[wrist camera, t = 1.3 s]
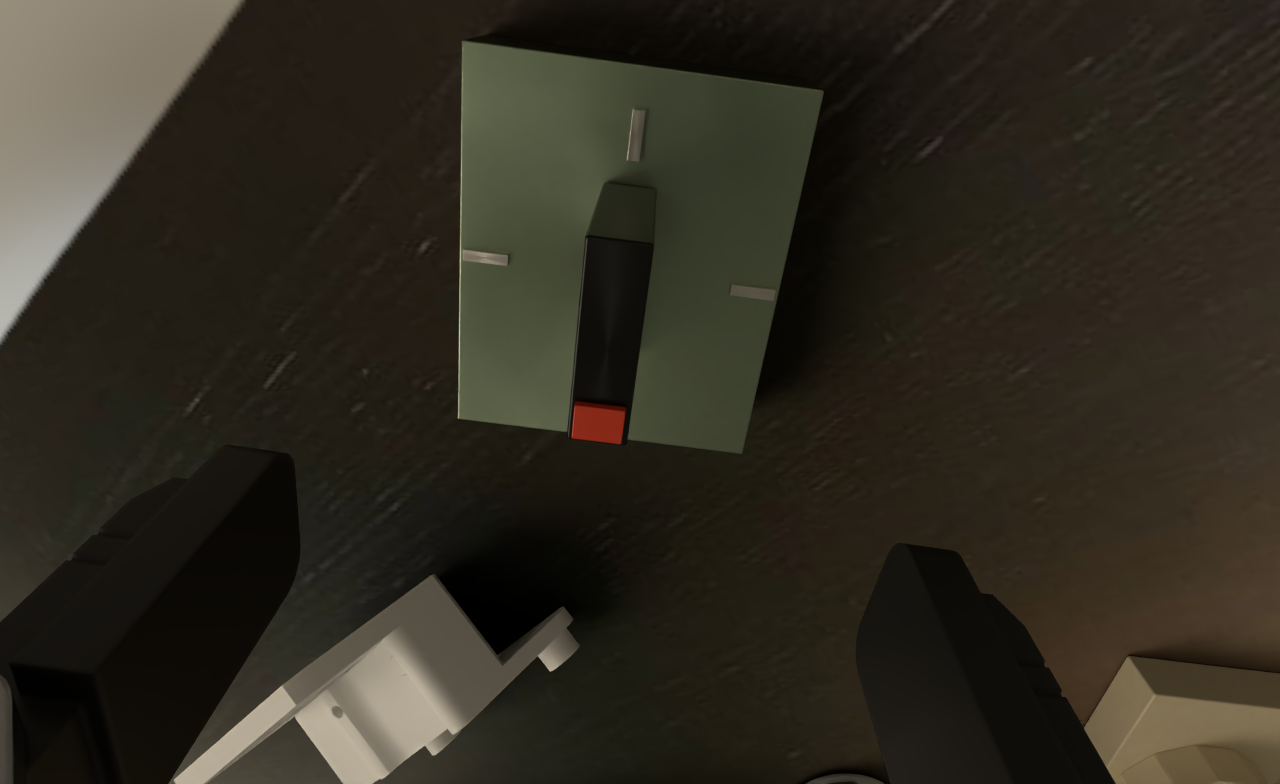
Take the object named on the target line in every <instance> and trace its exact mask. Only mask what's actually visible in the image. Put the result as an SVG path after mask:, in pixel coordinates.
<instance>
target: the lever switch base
mask: <svg viewBox="0 0 1280 784" xmlns="http://www.w3.org/2000/svg"><path fill="white" fill-rule="evenodd" d="M823 95H824V90H822V89H821V88H819V87H817V86H816V85H814V84H812V83H811V82H809V81H808V80H806V79H800V78H793V77H786V76H779V75H772V74H765V73H757V72H750V71H743V70H736V69H729V68H722V67H714V66H707V65H700V64H693V63H686V62H679V61H671V60H664V59H657V58H650V57H643V56H636V55H628V54H621V53H614V52H607V51H600V50H592V49H585V48H578V47H571V46H564V45H557V44H549V43H542V42H535V41H528V40H521V39H514V38H506V37H499V36H492V35H483V36H479V37H474V38H470V39H465V40H462V63H461V159H460V254H459V350H458V419H464V420H472V421H480V422H488V423H496V424H504V425H512V426H520V427H528V428H536V429H544V430H553V431H561V432H567V426H568V415H569V404H570V393H571V382H572V371H573V360H574V350H575V339H576V328H577V317H578V306H579V295H580V284H581V273H582V262H583V252H584V241H585V236H586V233H587V230H588V227H589V224H590V221H591V218H592V215H593V212H594V209H595V206H596V203H597V200H598V197H599V194H600V191H601V188H602V186H603V184H604V183H612V184H620V185H627V186H635V187H642V188H650V189H655V190H657V202H656V222H655V241H654V252H653V259H652V266H651V274H650V281H649V288H648V295H647V303H646V310H645V317H644V324H643V332H642V339H641V346H640V353H639V361H638V368H637V375H636V382H635V390H634V397H633V404H632V411H631V419H630V426H629V433H628V440H633V441H641V442H650V443H658V444H666V445H674V446H682V447H690V448H698V449H706V450H714V451H722V452H730V453H738V454H742V453H743V449H744V444H745V440H746V435H747V431H748V427H749V422H750V418H751V413H752V409H753V404H754V400H755V396H756V391H757V387H758V382H759V378H760V374H761V369H762V365H763V360H764V356H765V351H766V347H767V343H768V338H769V334H770V329H771V325H772V320H773V316H774V312H775V307H776V303H777V298H778V294H779V290H780V285H781V281H782V276H783V272H784V267H785V263H786V259H787V254H788V250H789V245H790V241H791V237H792V232H793V228H794V223H795V219H796V214H797V210H798V206H799V201H800V197H801V192H802V188H803V183H804V179H805V175H806V170H807V166H808V161H809V157H810V153H811V148H812V144H813V139H814V135H815V130H816V126H817V122H818V117H819V113H820V108H821V104H822V99H823Z"/></svg>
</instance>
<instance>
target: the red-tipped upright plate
mask: <svg viewBox="0 0 1280 784" xmlns="http://www.w3.org/2000/svg"><path fill="white" fill-rule="evenodd" d="M656 202H657V190H655V189H650V188H642V187H635V186H627V185H620V184H612V183H604V184H603V186H602V188H601V191H600V194H599V197H598V200H597V203H596V206H595V209H594V212H593V215H592V218H591V221H590V224H589V227H588V230H587V233H586V236H585V241H584V252H583V262H582V273H581V284H580V295H579V306H578V317H577V328H576V339H575V350H574V360H573V371H572V382H571V393H570V404H569V415H568V426H567V438H569V439H576V440H584V441H592V442H600V443H608V444H616V445H626V444H627V440H628V433H629V426H630V419H631V411H632V404H633V397H634V390H635V382H636V375H637V368H638V361H639V353H640V346H641V339H642V332H643V324H644V317H645V310H646V303H647V295H648V288H649V281H650V274H651V266H652V259H653V252H654V241H655V222H656Z"/></svg>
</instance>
